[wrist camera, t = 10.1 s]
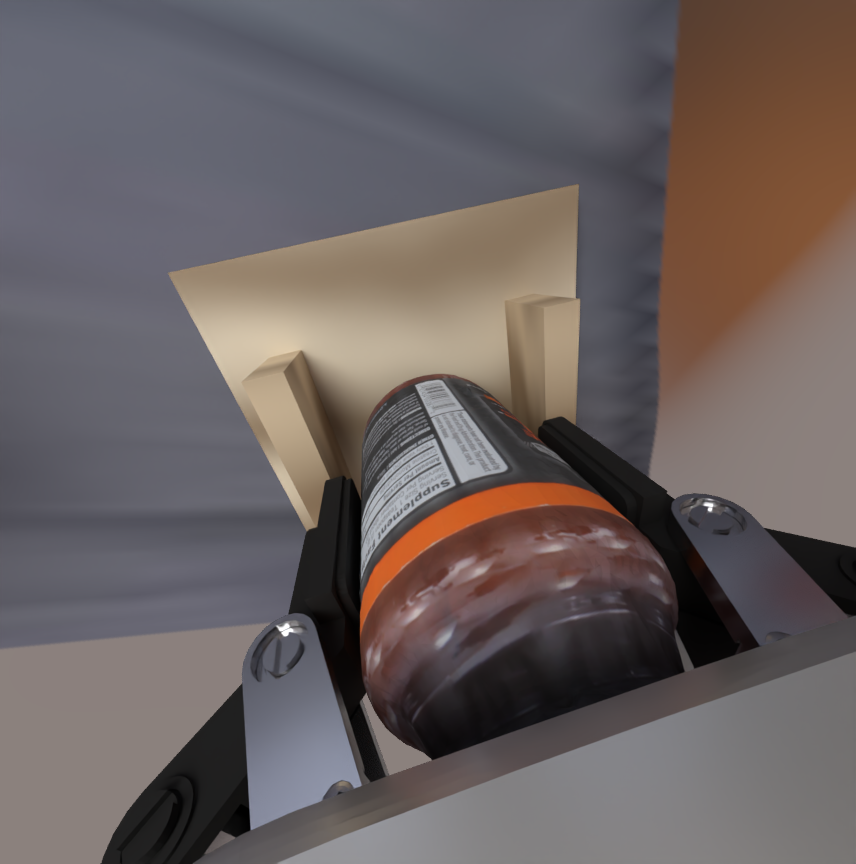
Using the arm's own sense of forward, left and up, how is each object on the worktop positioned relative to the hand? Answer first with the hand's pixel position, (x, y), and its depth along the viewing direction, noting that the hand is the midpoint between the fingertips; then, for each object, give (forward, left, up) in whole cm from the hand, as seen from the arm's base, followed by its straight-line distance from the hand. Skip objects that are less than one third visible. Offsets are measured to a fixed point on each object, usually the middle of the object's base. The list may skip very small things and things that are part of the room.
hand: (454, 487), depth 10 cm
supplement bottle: (0, 0, -4) cm, 4 cm away
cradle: (-1, 0, -6) cm, 6 cm away
